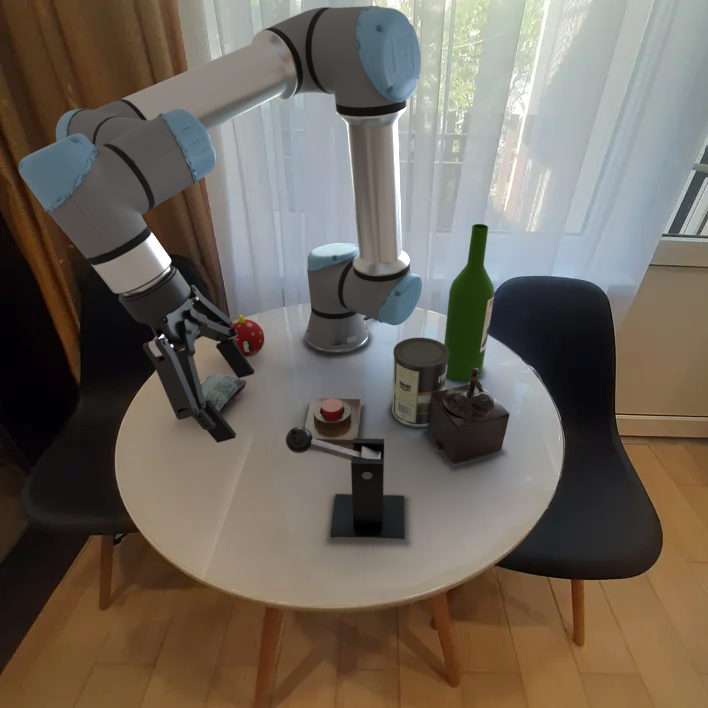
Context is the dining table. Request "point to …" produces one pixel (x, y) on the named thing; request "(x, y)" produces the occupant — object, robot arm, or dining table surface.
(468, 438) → the brown coffee grinder
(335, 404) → the button
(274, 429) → the dining table surface
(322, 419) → the button block
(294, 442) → the lever
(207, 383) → the packaged food
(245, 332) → the christmas ornament
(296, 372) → the dining table surface
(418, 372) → the coffee can
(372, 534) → the bracket
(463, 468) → the dining table surface
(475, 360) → the wine bottle
